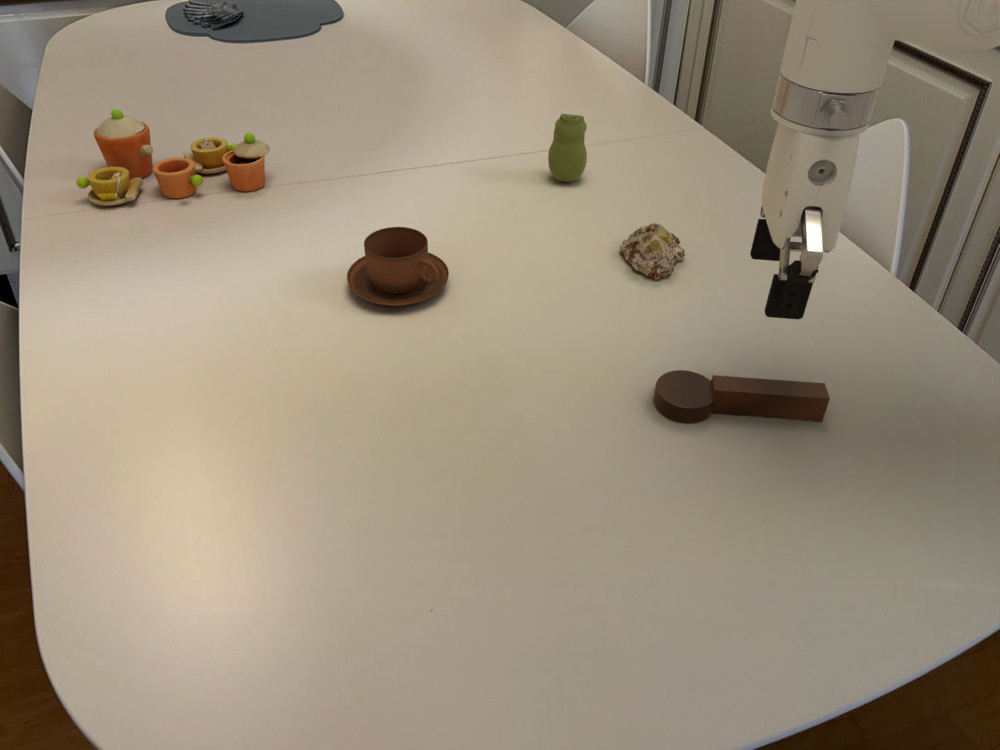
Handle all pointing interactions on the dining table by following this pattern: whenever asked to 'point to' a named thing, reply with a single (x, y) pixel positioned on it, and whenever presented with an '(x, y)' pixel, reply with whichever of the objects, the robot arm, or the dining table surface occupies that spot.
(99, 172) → the toy tea set
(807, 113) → the robot arm
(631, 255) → the mineral rock
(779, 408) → the brown handled disc
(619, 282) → the dining table surface
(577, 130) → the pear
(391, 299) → the cup and saucer
